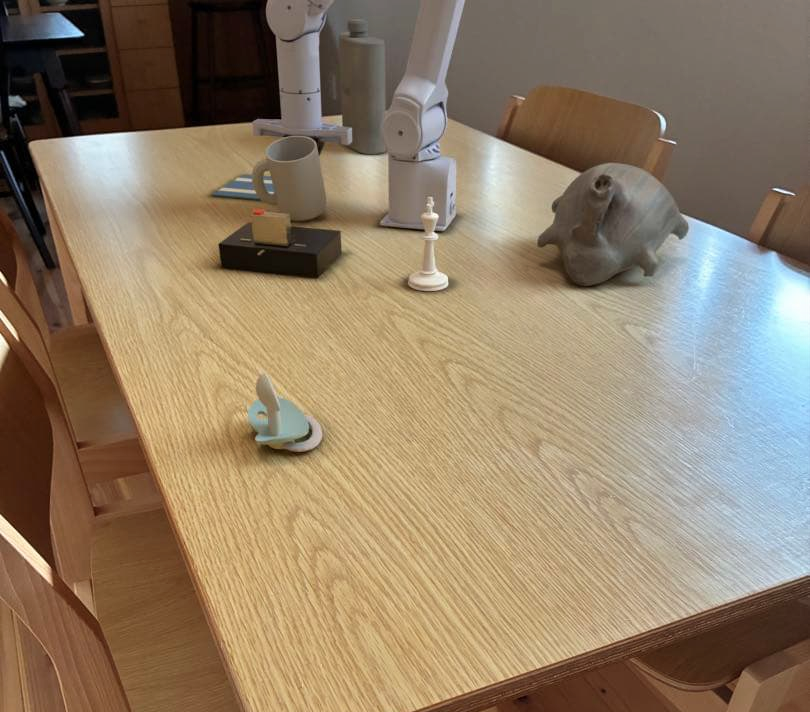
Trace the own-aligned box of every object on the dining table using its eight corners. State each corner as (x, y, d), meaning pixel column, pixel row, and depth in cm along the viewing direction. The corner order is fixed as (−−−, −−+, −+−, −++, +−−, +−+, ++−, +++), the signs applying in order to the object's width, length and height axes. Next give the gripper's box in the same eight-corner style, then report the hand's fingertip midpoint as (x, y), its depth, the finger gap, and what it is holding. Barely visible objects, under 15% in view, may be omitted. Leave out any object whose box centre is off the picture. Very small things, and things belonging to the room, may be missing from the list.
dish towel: (293, 180, 133) (293, 178, 133) (265, 201, 124) (264, 198, 124) (243, 176, 135) (243, 174, 135) (211, 196, 126) (211, 194, 126)
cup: (328, 218, 116) (317, 158, 109) (260, 228, 116) (244, 168, 109) (326, 192, 120) (315, 132, 113) (260, 201, 121) (245, 142, 113)
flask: (336, 137, 157) (330, 15, 144) (364, 135, 158) (361, 14, 146) (359, 156, 146) (355, 25, 133) (389, 153, 147) (388, 24, 135)
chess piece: (453, 279, 99) (457, 194, 93) (441, 293, 95) (444, 206, 89) (415, 274, 100) (416, 189, 94) (402, 288, 97) (402, 201, 90)
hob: (341, 253, 106) (340, 229, 104) (311, 285, 97) (309, 259, 95) (250, 244, 109) (247, 220, 107) (213, 274, 100) (209, 248, 98)
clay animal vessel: (638, 293, 92) (592, 174, 88) (533, 328, 105) (487, 225, 100) (705, 237, 102) (665, 127, 98) (601, 275, 115) (562, 179, 110)
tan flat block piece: (292, 242, 100) (289, 211, 98) (287, 246, 99) (284, 215, 97) (258, 239, 101) (255, 208, 99) (253, 243, 100) (250, 212, 98)
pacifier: (311, 414, 73) (246, 422, 72) (309, 350, 70) (239, 357, 68) (331, 455, 68) (260, 465, 66) (329, 389, 64) (254, 397, 63)
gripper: (358, 88, 114) (359, 189, 123) (263, 80, 117) (271, 179, 126) (341, 98, 109) (344, 202, 117) (243, 89, 112) (252, 192, 120)
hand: (305, 191), depth 121 cm, fingers closed
